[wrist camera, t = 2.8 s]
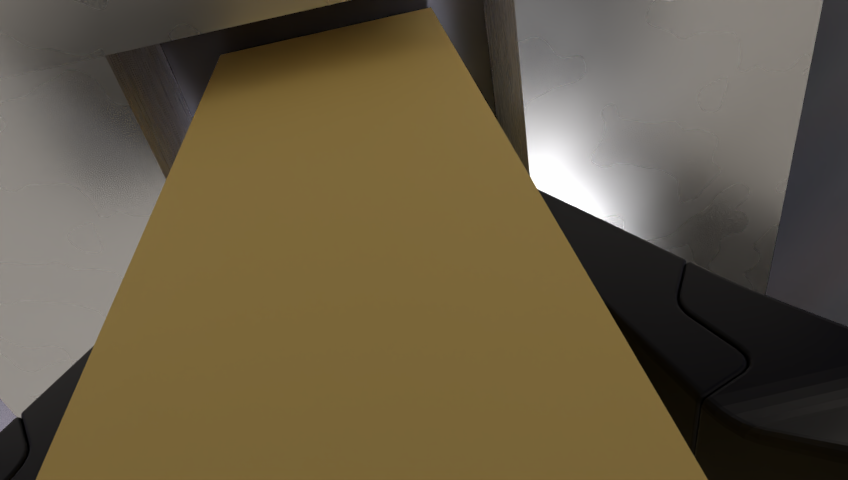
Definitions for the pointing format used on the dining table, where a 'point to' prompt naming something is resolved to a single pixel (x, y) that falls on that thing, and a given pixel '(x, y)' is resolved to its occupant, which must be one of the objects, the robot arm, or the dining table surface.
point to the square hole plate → (515, 109)
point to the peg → (358, 293)
